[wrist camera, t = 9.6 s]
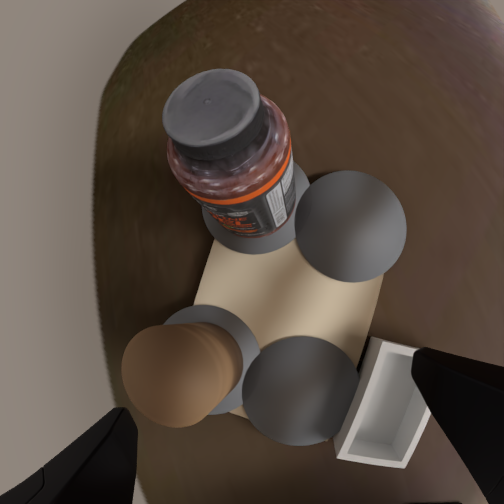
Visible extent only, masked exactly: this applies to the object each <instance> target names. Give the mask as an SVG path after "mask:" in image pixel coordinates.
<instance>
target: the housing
mask: <svg viewBox="0 0 504 504" xmlns="http://www.w3.org/2000/svg"><path fill="white" fill-rule="evenodd" d="M418 349H420V348H416V347H412V346H407V345H403V344H399V343H395V342H391V341H387V340H383V339H379V338H376V337H372V336H371V337H370V340H369V344H368V347H367V350H366V353H365V356H364V359H363V362H362V365H361V368H360V371H359V373H358V376H359V379H360V382H359V385H358V388H357V390H356V393H355V396H354V398H353V401H352V403H351V406H350V408H349V411H348V413H347V416H346V418H345V420H344V423H343V425H342V427H341V430H340V432H338V433H337V434H336V435H334V436H333V441H334V446H335V452H336V457H337V458H338V459H343V460H348V461H354V462H360V463H366V464H373V465H380V466H387V467H396V468H405V467H406V465H407V463H408V461H409V459H410V457H411V455H412V453H413V451H414V449H415V447H416V445H417V443H418V441H419V439H420V437H421V435H422V433H423V430H424V428H425V426H426V424H427V421H428V419H429V417H430V414H431V412H430V410H429V408H428V407H427V405H426V403H425V401H424V399H423V397H422V395H421V393H420V391H419V390H418V388H417V386H416V384H415V382H414V380H413V378H412V376H411V366H412V359H413V353H414V351H416V350H418Z"/></svg>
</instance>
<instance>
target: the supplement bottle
mask: <svg viewBox="0 0 504 504" xmlns="http://www.w3.org/2000/svg"><path fill="white" fill-rule="evenodd" d="M162 122H163V126H164V129H165V131H166V133H167V134H168V136H169V138H168V143H167V157H168V162H169V166H170V168H171V170H172V172H173V174H174V176H175V178H176V179H177V180H178V182H179V183H180V184H181V185H182V186H183V187H184V188H185V189H186V190H187V192H188V193H189V194H190V195H191V196H192V197H193V198H194V199H195V200H196V201H197V202H198V203H199V204H200V205H201V206H203V207H204V208H205V210H206V211H207V212H208V213H209V214H210V215H211V216H212V217H213V218H214V219H215V220H216V221H217V222H218V223H219V224H220V225H221V226H222V227H223V228H225V229H226V230H227V231H229V232H231V233H232V234H234V235H237V236H239V237H244V238H261V237H264V236H269V235H271V234H273V233H275V232H276V231H277V230H279V229H280V228H281V227H282V226H284V224H285V223H286V222H287V221H288V220H289V218H290V217H291V215H292V213H293V210H294V207H295V202H296V187H295V176H294V165H293V157H292V147H291V138H290V132H289V128H288V124H287V121H286V118H285V117H284V115H283V113H282V112H281V110H280V109H279V108H278V106H277V105H276V104H274V103H273V102H272V101H271V100H269V99H268V98H266V97H264V96H263V95H261V94H259V91H258V88H257V86H256V84H255V83H254V82H253V81H252V80H251V79H250V78H249V77H248V76H246V75H245V74H243V73H241V72H239V71H235V70H231V69H213V70H208V71H204V72H202V73H199V74H196V75H194V76H193V77H191V78H189V79H187V80H186V81H184V82H183V83H181V84H180V85H179V86H178V87H177V88H176V89H175V90H174V91H173V92H172V94H171V95H170V96H169V98H168V100H167V102H166V103H165V106H164V109H163V114H162Z"/></svg>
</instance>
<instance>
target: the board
mask: <svg viewBox="0 0 504 504" xmlns="http://www.w3.org/2000/svg"><path fill="white" fill-rule="evenodd" d="M293 165H294V176H295V187H296V202H295V207H294V210H293V213H292V215H291V217H290V218H289V220H288V221H287V222H286V223H285V224H284V226H282V227H281V228H280V229H279V230H277V231H276V232H275V233H273V234H271V235H269V236H264V237H261V238H244V237H239V236H237V235H234V234H232V233H231V232H229V231H227V230H226V229H225V228H223V227H222V226H221V225H220V224H219V223H218V222H217V221H216V220H215V219H214V218H213V217H212V216H211V215H210V214H209V213H208V212H207V211H206V210H205V208H204V207H203V206H202V214H203V218H204V221H205V224H206V226H207V228H208V229H209V231H210V233H211V234H212V235H213V236H214V238H215V239H214V242H213V245H212V248H211V251H210V254H209V257H208V261H207V264H206V267H205V270H204V273H203V276H202V279H201V282H200V286H199V289H198V292H197V295H196V298H195V302H194V305H193V306H190V307H187V308H184V309H182V310H180V311H178V312H176V313H175V314H173V315H172V316H171V317H170V318H168V319H167V321H166V322H165V323H164V324H163V325H157V326H152V327H148V328H146V329H144V330H142V331H140V332H139V333H138V334H136V335H135V336H134V337H133V338H132V339H131V341H130V342H129V344H128V345H127V347H126V349H125V352H124V355H123V359H122V368H121V370H122V379H123V384H124V387H125V390H126V392H127V394H128V396H129V398H130V400H131V401H132V403H133V404H134V406H135V407H136V408H137V409H138V410H139V411H140V412H141V413H142V414H143V415H144V416H146V417H147V418H148V419H150V420H152V421H153V422H155V423H158V424H160V425H163V426H167V427H173V428H180V427H187V426H191V425H193V424H195V423H197V422H199V421H201V420H202V419H203V418H204V417H205V416H207V415H215V414H222V413H226V412H230V413H233V414H236V415H239V416H242V417H244V418H247V419H250V421H251V422H252V424H253V425H254V426H255V427H256V428H257V429H258V430H259V431H260V432H261V433H262V434H264V435H265V436H267V437H268V438H270V439H272V440H274V441H276V442H279V443H282V444H287V445H294V446H305V445H312V444H316V443H320V442H322V441H328V439H329V438H331V437H333V436H334V435H336V434H337V433H338V432H340V430H341V427H342V425H343V423H344V420H345V418H346V416H347V413H348V411H349V408H350V406H351V403H352V401H353V398H354V396H355V393H356V390H357V388H358V385H359V382H360V379H359V376H358V372H357V370H356V368H357V365H358V362H359V359H360V356H361V353H362V350H363V347H364V344H365V341H366V337H367V334H368V331H369V327H370V324H371V321H372V317H373V314H374V310H375V306H376V303H377V299H378V295H379V291H380V287H381V283H382V279H383V275H384V272H386V271H387V270H388V269H389V268H390V267H391V266H392V265H393V264H394V263H395V262H396V261H397V259H398V257H399V256H400V254H401V252H402V250H403V247H404V244H405V240H406V219H405V215H404V211H403V209H402V206H401V204H400V202H399V200H398V199H397V197H396V196H395V194H394V193H393V192H392V191H391V190H390V189H389V188H388V186H386V185H385V184H384V183H383V182H381V181H380V180H378V179H377V178H375V177H373V176H371V175H368V174H365V173H362V172H357V171H338V172H333V173H330V174H327V175H325V176H323V177H321V178H319V179H318V180H316V181H315V182H314V183H312V184H311V185H310V184H309V181H308V179H307V177H306V175H305V173H304V172H303V171H302V169H301V168H300V167H299V166H298V165H297V164H296V163H295V162H294V161H293Z"/></svg>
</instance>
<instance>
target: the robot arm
mask: <svg viewBox="0 0 504 504" xmlns="http://www.w3.org/2000/svg"><path fill="white" fill-rule="evenodd" d="M411 376H412V378H413V380H414V382H415V384H416V386H417V388H418V390H419V391H420V393H421V395H422V397H423V399H424V401H425V403H426V405H427V407H428V408H429V410H430V412H431V413H432V415H433V416H434V418H435V419H436V421H437V422H438V424H439V425H440V427H441V428H442V430H443V431H444V433H445V434H446V436H447V437H448V439H449V440H450V442H451V443H452V445H453V446H454V448H455V450H456V451H457V453H458V454H459V456H460V457H461V459H462V460H463V462H464V464H465V465H466V467H467V468H468V470H469V472H470V473H471V475H472V476H473V478H474V480H475V481H476V483H477V485H478V486H479V488H480V490H481V491H482V493H483V495H484V496H485V498H486V500H487V502H488V503H489V504H504V367H502V366H498V365H494V364H489V363H485V362H481V361H477V360H473V359H469V358H465V357H461V356H458V355H454V354H450V353H446V352H442V351H439V350H435V349H431V348H428V347H423V348H420V349H418V350H416V351H414V353H413V359H412V366H411ZM137 441H138V429H137V426H136V424H135V422H134V420H133V418H132V416H131V414H130V412H129V410H128V409H127V408H125V407H118V408H113V409H112V410H111V411H110V412H108V413H107V414H106V415H105V416H104V417H102V418H101V419H100V420H99V421H98V422H97V423H95V424H94V425H93V426H92V427H90V428H89V429H88V430H87V431H86V432H84V433H83V434H82V435H81V436H80V437H78V438H77V439H76V440H75V441H74V442H72V443H71V444H70V445H69V446H67V447H66V448H65V449H64V450H63V451H61V452H60V453H59V454H58V455H56V456H55V457H54V458H53V459H51V460H50V461H49V462H48V463H46V464H45V465H44V467H41V468H40V469H39V470H38V471H37V472H35V473H34V474H33V475H31V476H30V477H28V478H27V479H26V480H25V481H23V482H22V483H20V484H19V485H17V486H15V487H14V488H12V489H11V490H9V491H7V492H6V493H4V494H2V495H1V496H0V504H132V500H133V493H134V485H135V479H136V468H137ZM444 504H462V503H444Z"/></svg>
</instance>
